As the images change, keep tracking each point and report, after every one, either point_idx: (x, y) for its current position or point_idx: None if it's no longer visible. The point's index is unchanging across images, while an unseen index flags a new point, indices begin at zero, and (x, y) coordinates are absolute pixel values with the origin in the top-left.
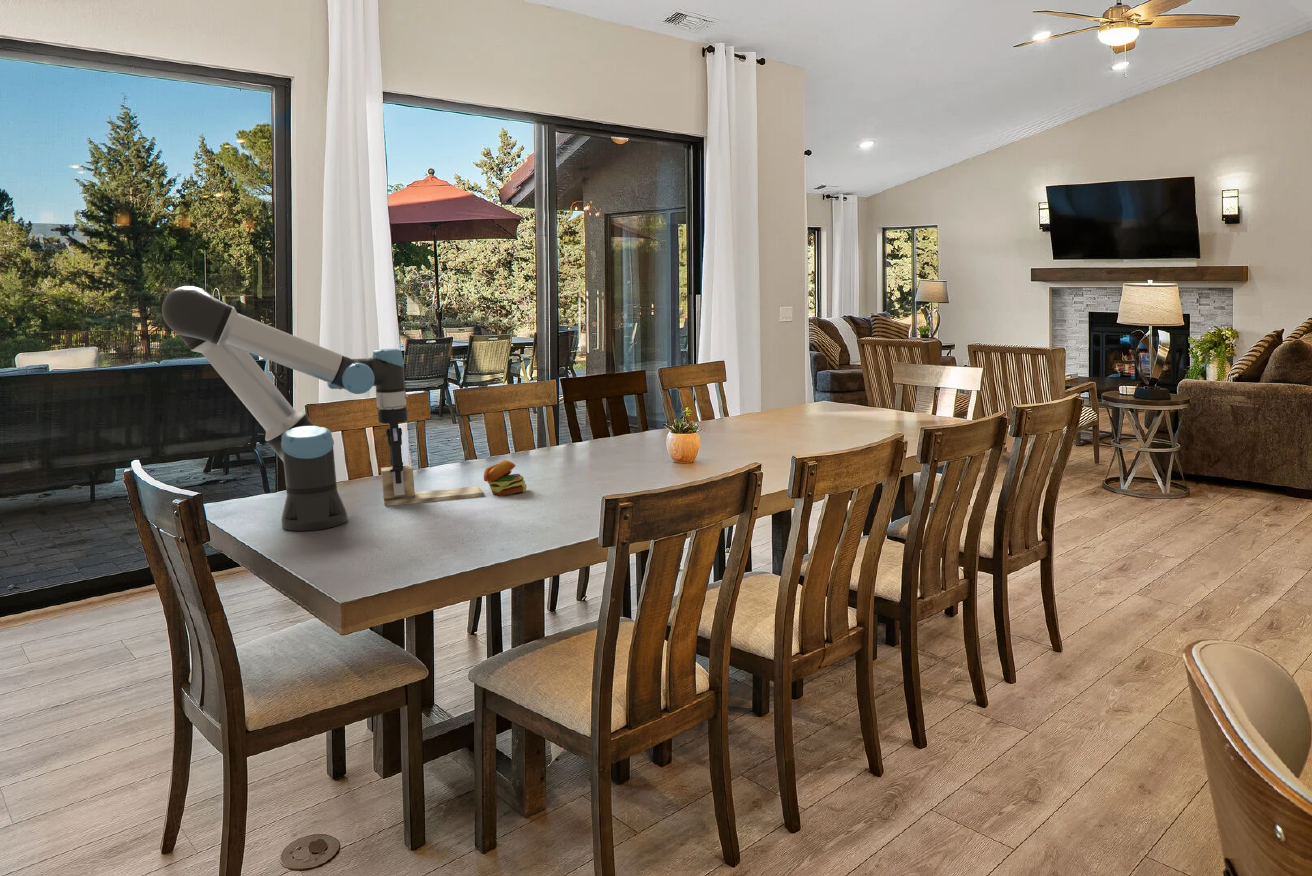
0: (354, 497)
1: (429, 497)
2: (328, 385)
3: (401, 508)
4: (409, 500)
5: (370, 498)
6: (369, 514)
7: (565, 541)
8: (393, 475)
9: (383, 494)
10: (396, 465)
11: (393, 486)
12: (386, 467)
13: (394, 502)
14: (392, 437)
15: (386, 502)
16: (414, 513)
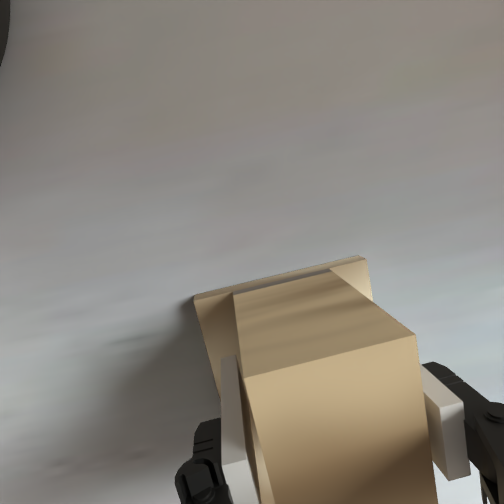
0: (438, 89)
1: None
2: None
3: (130, 383)
4: None
5: (388, 185)
6: (20, 255)
7: None
8: (224, 445)
9: (251, 297)
10: (469, 447)
11: (226, 386)
12: (415, 380)
13: (206, 344)
14: None
15: (196, 310)
16: (18, 459)
